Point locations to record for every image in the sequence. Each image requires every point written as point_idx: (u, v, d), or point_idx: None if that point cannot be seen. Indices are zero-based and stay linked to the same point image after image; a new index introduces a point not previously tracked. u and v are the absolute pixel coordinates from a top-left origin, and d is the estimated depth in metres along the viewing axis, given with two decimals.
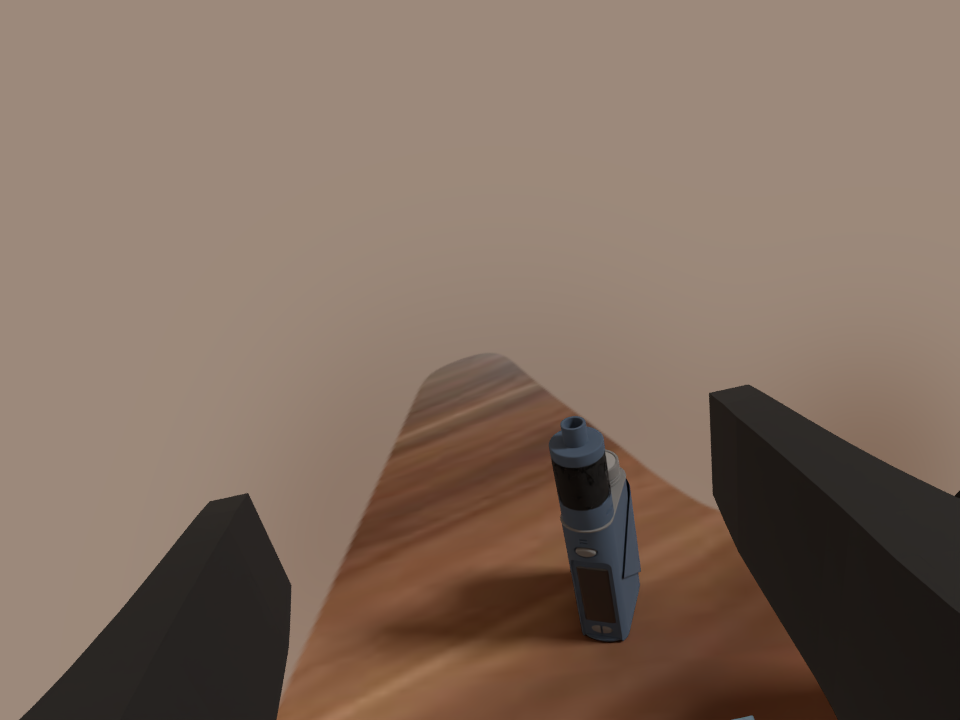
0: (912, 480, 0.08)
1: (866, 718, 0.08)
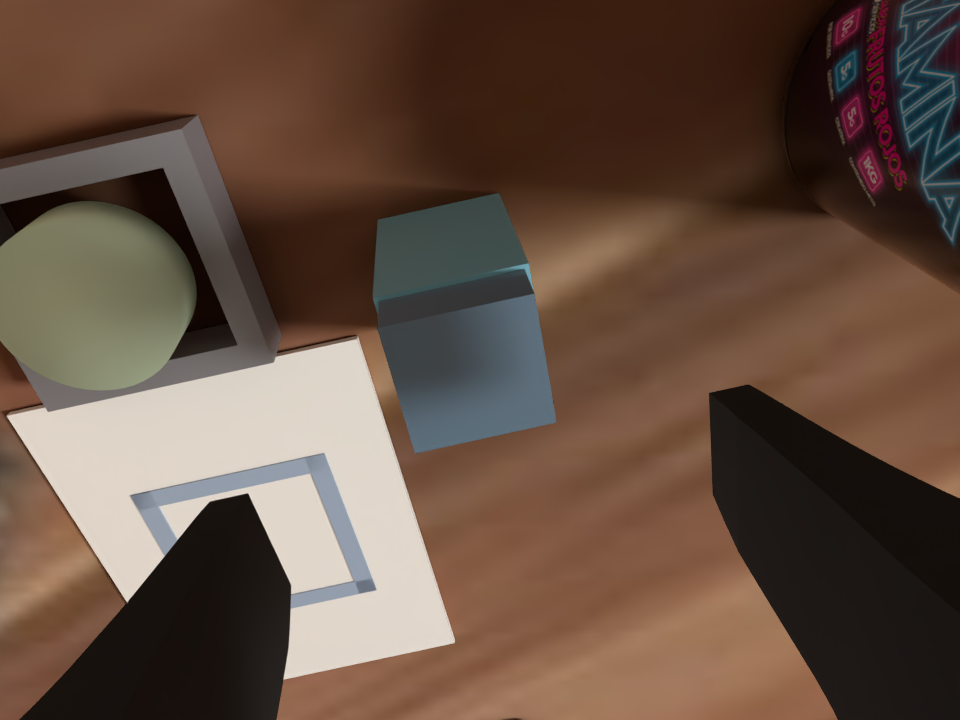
0: (912, 480, 0.08)
1: (866, 718, 0.08)
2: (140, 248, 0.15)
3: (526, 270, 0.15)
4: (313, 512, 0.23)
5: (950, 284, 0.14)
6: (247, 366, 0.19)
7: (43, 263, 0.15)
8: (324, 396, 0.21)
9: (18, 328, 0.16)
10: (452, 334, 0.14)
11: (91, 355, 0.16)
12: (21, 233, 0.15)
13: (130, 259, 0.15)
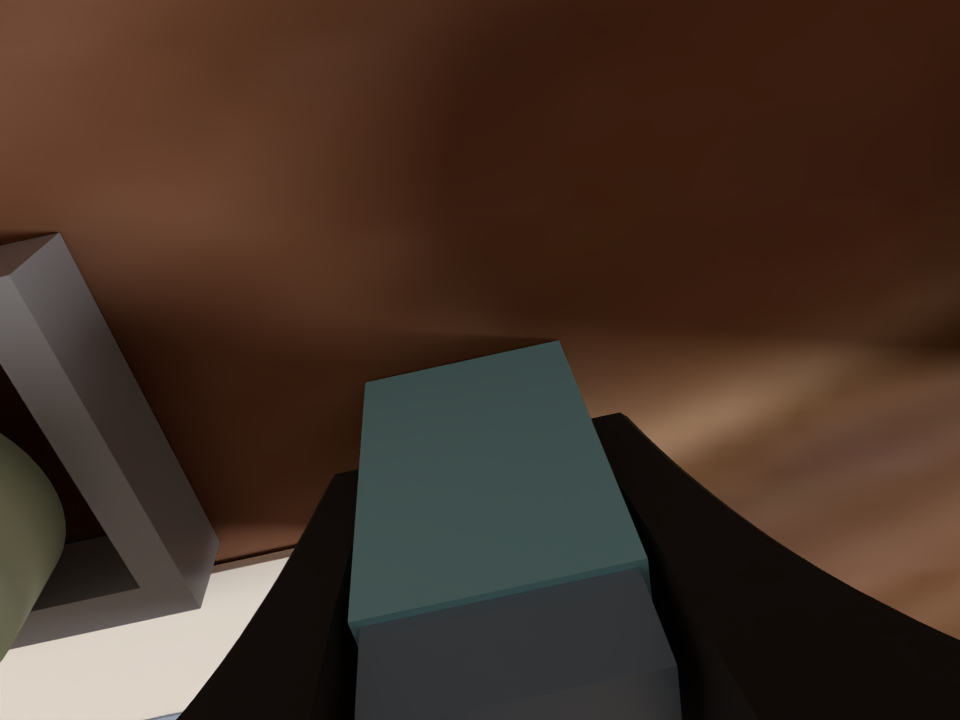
0: (734, 518, 0.08)
1: None
2: None
3: (643, 570, 0.08)
4: None
5: None
6: (159, 613, 0.12)
7: None
8: None
9: None
10: None
11: None
12: None
13: None
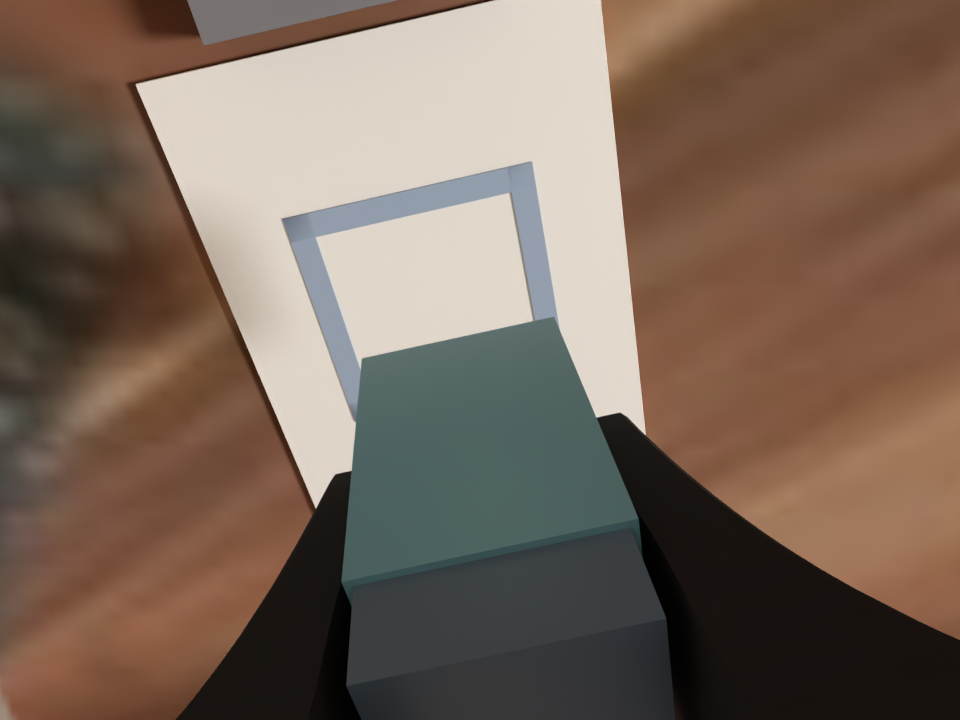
0: (733, 518, 0.08)
1: None
2: None
3: (633, 530, 0.08)
4: (505, 254, 0.18)
5: None
6: None
7: None
8: (543, 70, 0.16)
9: None
10: (496, 686, 0.07)
11: None
12: None
13: None
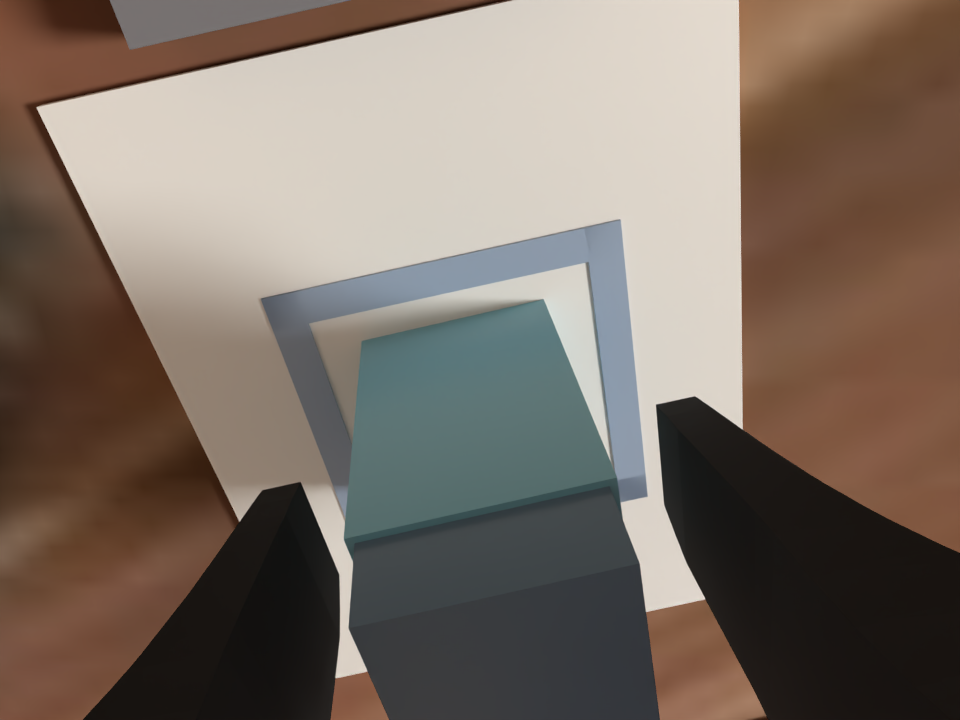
0: (838, 496, 0.08)
1: None
2: None
3: (612, 489, 0.08)
4: (575, 344, 0.13)
5: None
6: None
7: None
8: (646, 90, 0.11)
9: None
10: (485, 629, 0.07)
11: None
12: None
13: None
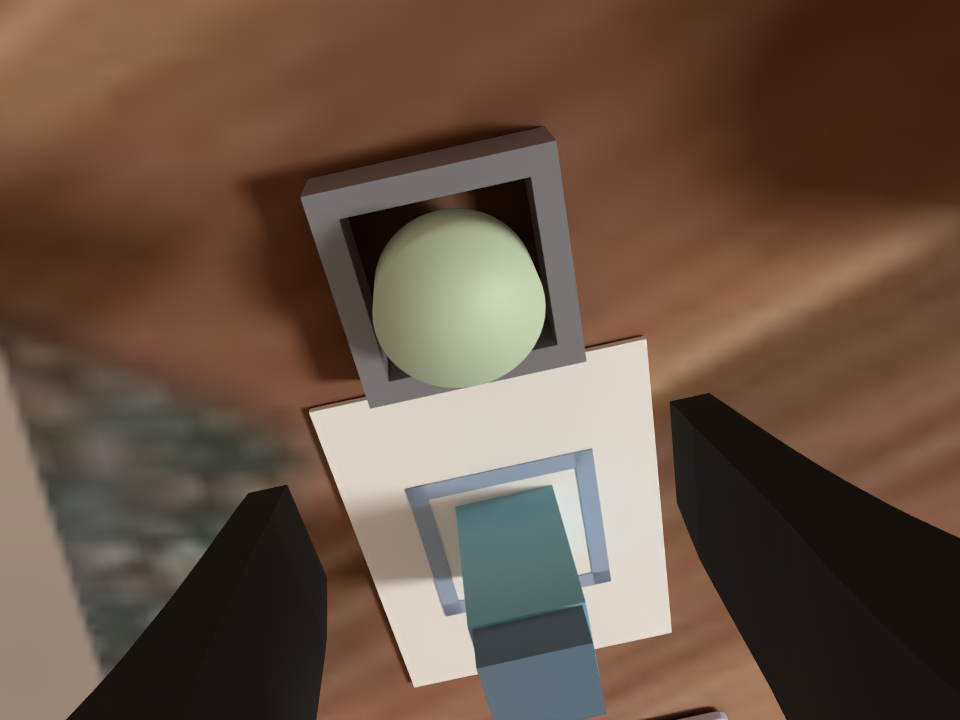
0: (857, 492, 0.08)
1: None
2: (523, 253, 0.16)
3: (583, 606, 0.19)
4: (569, 505, 0.24)
5: None
6: (560, 365, 0.20)
7: (436, 267, 0.16)
8: (603, 394, 0.22)
9: (397, 329, 0.17)
10: (531, 668, 0.18)
11: (456, 354, 0.17)
12: (425, 239, 0.16)
13: (515, 264, 0.16)
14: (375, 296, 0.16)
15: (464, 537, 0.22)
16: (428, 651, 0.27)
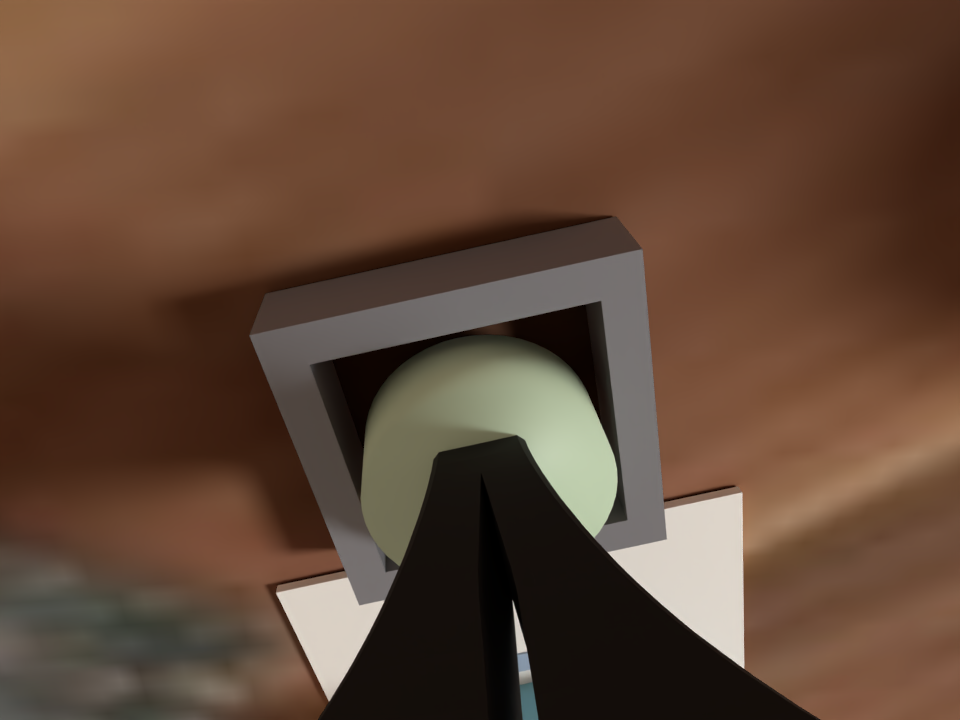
0: (590, 549, 0.08)
1: None
2: (587, 411, 0.11)
3: None
4: None
5: None
6: (629, 544, 0.14)
7: (457, 436, 0.11)
8: (679, 559, 0.16)
9: (398, 518, 0.11)
10: None
11: None
12: (440, 399, 0.10)
13: (576, 429, 0.11)
14: (365, 476, 0.11)
15: None
16: None
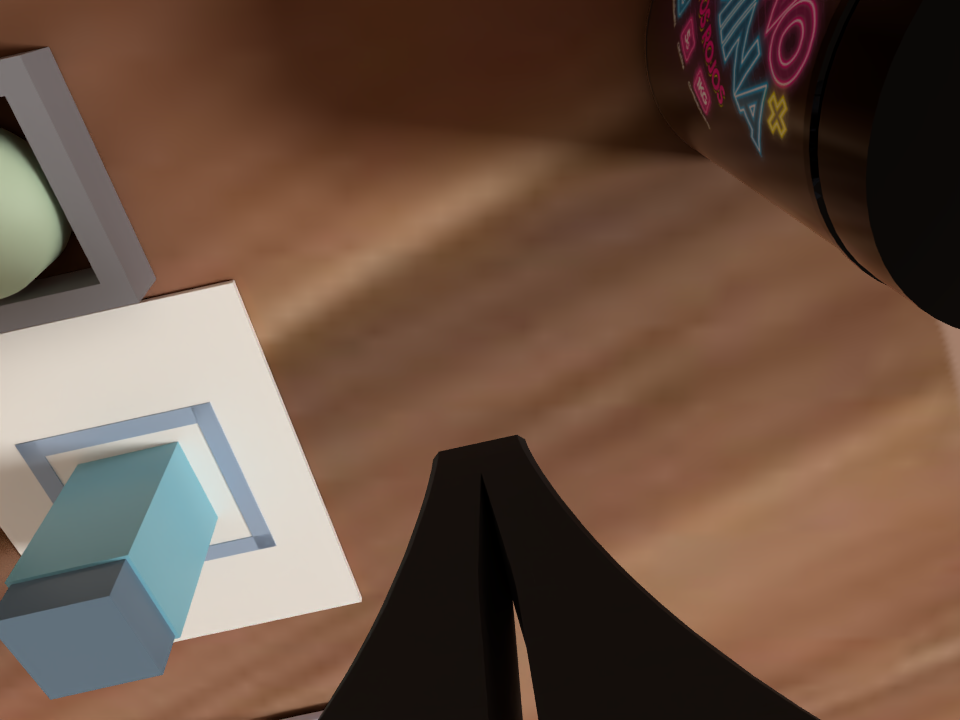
0: (590, 549, 0.08)
1: None
2: (3, 160, 0.16)
3: (127, 560, 0.18)
4: (204, 464, 0.23)
5: (775, 203, 0.14)
6: (113, 307, 0.19)
7: None
8: (204, 342, 0.21)
9: None
10: (51, 623, 0.17)
11: None
12: None
13: None
14: None
15: (64, 494, 0.21)
16: None
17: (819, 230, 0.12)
